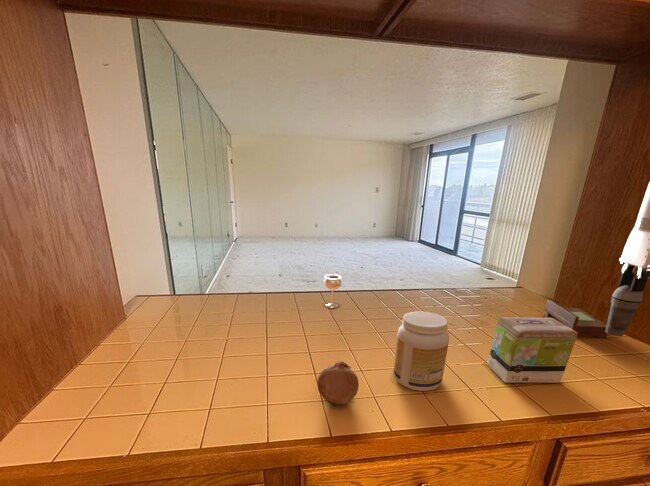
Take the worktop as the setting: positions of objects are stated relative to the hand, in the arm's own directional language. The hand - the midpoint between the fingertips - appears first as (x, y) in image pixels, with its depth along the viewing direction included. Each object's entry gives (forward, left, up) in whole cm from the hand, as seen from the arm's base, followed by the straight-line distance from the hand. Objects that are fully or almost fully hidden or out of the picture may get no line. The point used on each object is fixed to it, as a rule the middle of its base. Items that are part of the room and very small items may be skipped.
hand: (630, 287), depth 102 cm
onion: (+85, +38, -19) cm, 95 cm away
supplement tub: (+65, +27, -19) cm, 73 cm away
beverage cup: (0, 0, -15) cm, 15 cm away
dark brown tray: (+3, -15, -19) cm, 24 cm away
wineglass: (+89, -25, -19) cm, 95 cm away
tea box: (+36, +21, -19) cm, 46 cm away
